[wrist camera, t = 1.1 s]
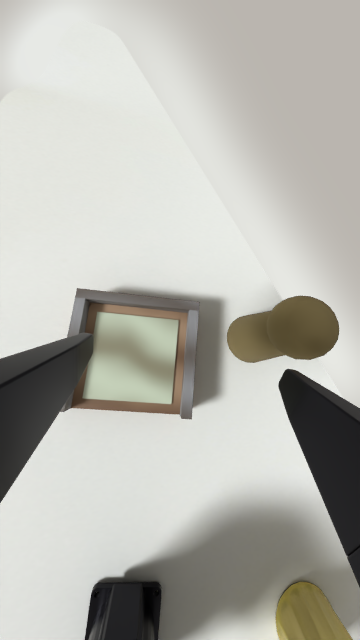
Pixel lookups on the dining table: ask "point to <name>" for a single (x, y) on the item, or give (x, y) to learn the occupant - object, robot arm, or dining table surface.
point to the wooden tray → (136, 353)
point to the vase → (307, 615)
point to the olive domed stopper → (285, 331)
